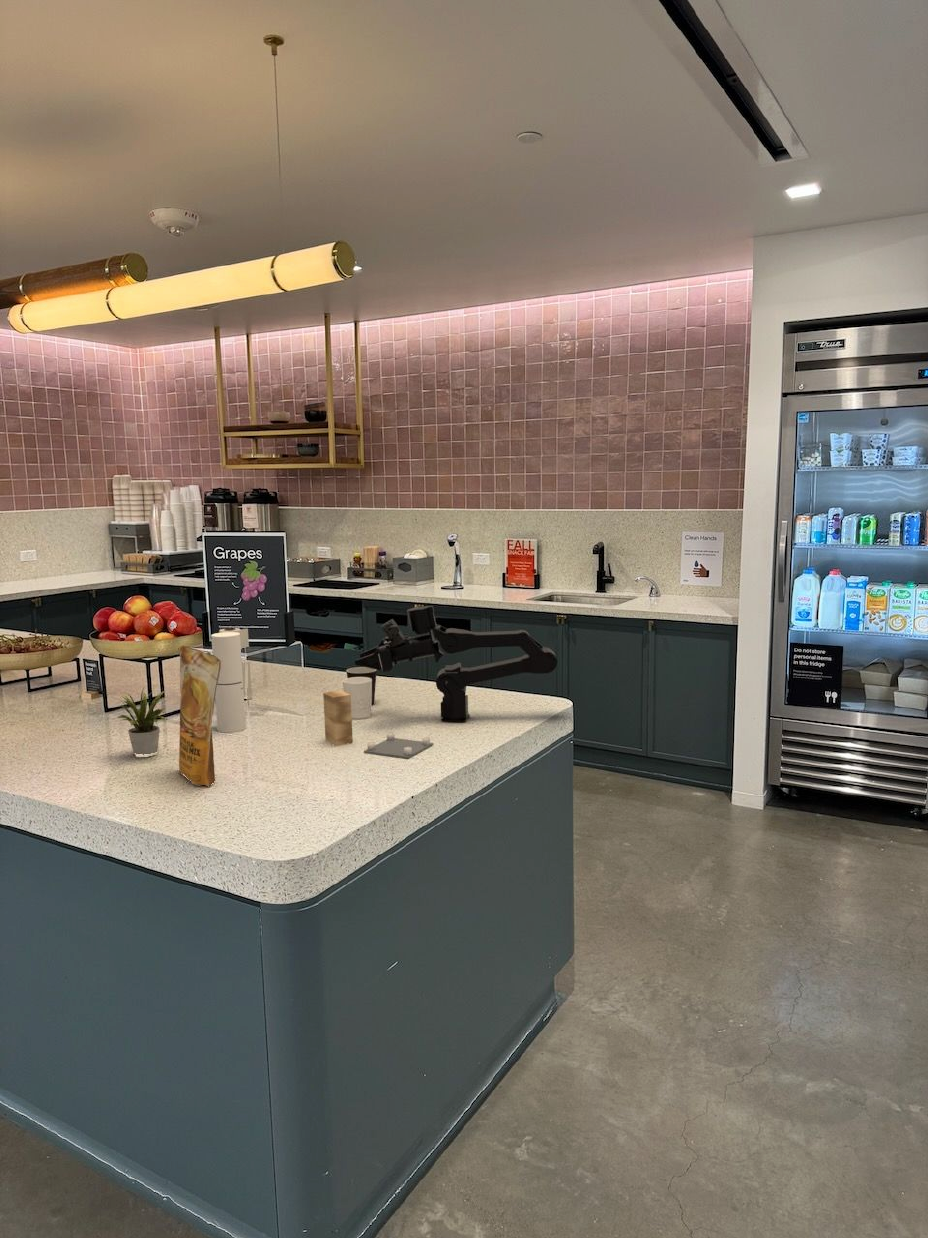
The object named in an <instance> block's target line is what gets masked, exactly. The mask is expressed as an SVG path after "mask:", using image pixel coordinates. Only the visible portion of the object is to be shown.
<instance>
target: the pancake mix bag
mask: <svg viewBox="0 0 928 1238" xmlns="http://www.w3.org/2000/svg"><path fill="white" fill-rule="evenodd" d="M178 652H179V670H180V673H179V675H180V677H179V678H180V679H179V680H180V682H179V683H180V684H179V685H180V687H179V688H180V701H179V703H180V705H179V708H180V709H179V711H180V712H179V747H178V748H179V749H178V750H179V751H178V752H179V754H178V769H179V771H180V772H181V773H182V774H184V775H185V776H186V777H187V778H188V779H189V780H191V781H192V782H193V783H194V784H196V785H206V786H205V787H207V786H208V788H209V786H210V785H211V784H212V783H214V781H215V782H216V776H215V761H214V759H215V758H214V757H215V756H214V743H213V732H212V731H213V730H212V722H213V714H214V709H215V702H216V699H215V693H216V687H217V683H218V678H219V673H220V669H221V661H220V660H219V659H218V658H217V657H216V656H214V655H213V654H211V653H207V652H205V651H202V650H200V649H197V648H193V647H190V646H185V645H181V646H179V647H178ZM181 773H180V774H181ZM189 780H188V781H189ZM194 784H193V785H194ZM214 784H215V783H214ZM211 786H212V785H211ZM211 786H210V787H211Z"/></svg>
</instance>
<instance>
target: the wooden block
mask: <svg viewBox="0 0 928 1238" xmlns="http://www.w3.org/2000/svg"><path fill="white" fill-rule="evenodd" d="M322 694H323V714H324V719H323V720H324V736H325V737H324V738H325V741H326V742H328V743H329V742H330V744H331V743H332V745H333V744H334V745H333V746H335V747H337V746H343V745H348V744H347V743H349V744H353V743H352V742H353V741H354V739H353V723H352V722H353V721H352V720H353V719H352V715H351V695H350V694H348V693H345V692H344V690H340V689H339V690H335V691H334V690H333V691H328V692H323V693H322ZM342 744H343V745H342Z"/></svg>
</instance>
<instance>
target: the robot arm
mask: <svg viewBox="0 0 928 1238" xmlns="http://www.w3.org/2000/svg"><path fill="white" fill-rule="evenodd" d="M406 611H407V612H406V613H407V616H408V621H409V625H410V630H411V632H414V633H415V635H417V636H412V637H411V636H409V635H405V636H404V634H403V632H402V631H401V628H399V626H398V624H397V622H396V621H395V619H393V618H392V619H390V620H388V621H386V622H385V623H383V624H382V625H381V630H382V631H383V632H384V633H385V634H386V636H385V637H384V638H382V639H381V640H380V643H379V644H378V645H377V646H374V647H373V648H370V649H368V650H366V651H363V652H361V653H359V658H358V659H356V660H354V664H355V666H359V667H368V668H372V669H376V670H377V671H380V672H383V673H386V672H391V670H392V669H393V668H394V666H395V665H398V664H399V663H400V662H406V661H408V662H413V661H414V660H415V659H416V660H417V659H421V658H426V657H432V656H434V660H435V663H438V662H439V661H440V659H441V658H442V657H443V656H444V652H445V653H447V654H454V653H461V652H465V651H468V650H471V649H476V648H502V647H503V648H505V647H506V648H507V647H520V649H521V650H523V652H524V653H526V654H524V655H522V656H520V657H515V658H510V659H506V660H501V661H496V662H495V661H494V662H491V663H487V664H482V665H478V666H477V665H476V666H472V667H462V662H457V663H455V664H452V665H451V664H450V665H449V664H445V667H443V668H441V669H440V670H439V672H438V673H437V677H436V681H435V686H436V688H437V689H438V691H439V692H441V693H442V694H443V696H442V698H441V700H442V701H441V702H440V718H441V719H440V720H441V722H448V723H449V722H452V723H465V722H467V720H468V719H469V718H470V717H471V715H470V714H469V696H468V695H467V694H466V692H467V686H470V685H472V684H475V683H480V682H486V681H490V680H496V679H500V678H504V677H505V678H506V677H510V676H515V675H519V674H535V675H537V674H539V675H540V674H550V673H553V671H555V669H556V668H557V665H558V659H557V656H556V654H555V652H554V651H553V649H551V648H549V647H547V646H546V647H545V646H543V645H542V644H541V643H539V642H538V641H537V640H536V639H535V638H534V637H532V636H531V635H530V634H529V633H528V631H526V630H524V629H519V630H501V631H500V630H499V631H498V630H497V631H471V630H468V629H461V628H454V627H449V628H447V627H444V626H442V625H440V624H438V623H437V622H436V618H435V614H434V613H435V610H434V606H433V605H428V606H427V605H425V606H421V605H420V606H416V607H412V608H408V609H407V610H406ZM435 639H436V640H435ZM439 644H440V646H439ZM440 647H441V649H440ZM441 650H443V651H444V652H443V651H441Z"/></svg>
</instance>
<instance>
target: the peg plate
mask: <svg viewBox="0 0 928 1238" xmlns="http://www.w3.org/2000/svg"><path fill="white" fill-rule="evenodd" d="M434 744H435V743H434V742H431V738H430V737H429V736H428V737H427V736H424V737H422V739H421V740H413V739H405V738H397V737H395V733H394V732H387V733H386V739H385V740H383V741H381V742H379V743H377V744H376V742H374V741H369V742H367V744H366V745H367V747H366V748H367V749H365V750H364V751H363V753H364V754H368V753H370V754H369V755H375V754H376V756H377V755H378V756H383V755H384V756H383V757H392V758H396V759H397V758H399V759H406V760H409V759H410V758H411V759H412V758H413V757H414V756H416V755H418V754H419V753H422V752H424V751H426V750H427V749H429V748H431V747H432V745H433V746H434ZM430 746H431V747H430ZM423 750H424V751H423Z"/></svg>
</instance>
